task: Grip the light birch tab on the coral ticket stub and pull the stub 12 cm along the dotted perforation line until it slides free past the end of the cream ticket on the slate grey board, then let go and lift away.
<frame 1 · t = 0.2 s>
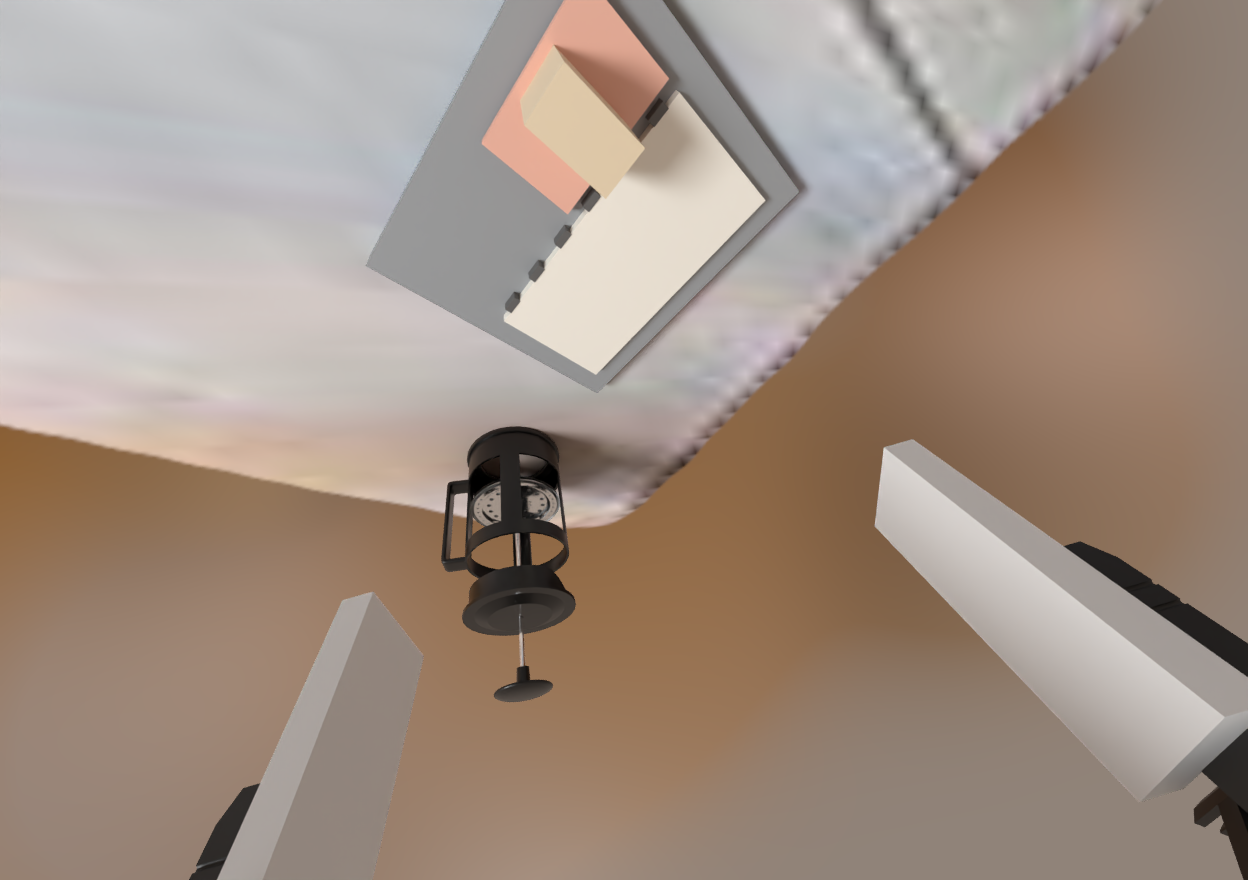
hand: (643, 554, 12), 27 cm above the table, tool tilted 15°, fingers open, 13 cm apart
stub: (579, 121, 23), point 5 cm above the table, slide at 0.0 cm
french press: (509, 456, 48), on the table
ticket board: (586, 218, 31), on the table
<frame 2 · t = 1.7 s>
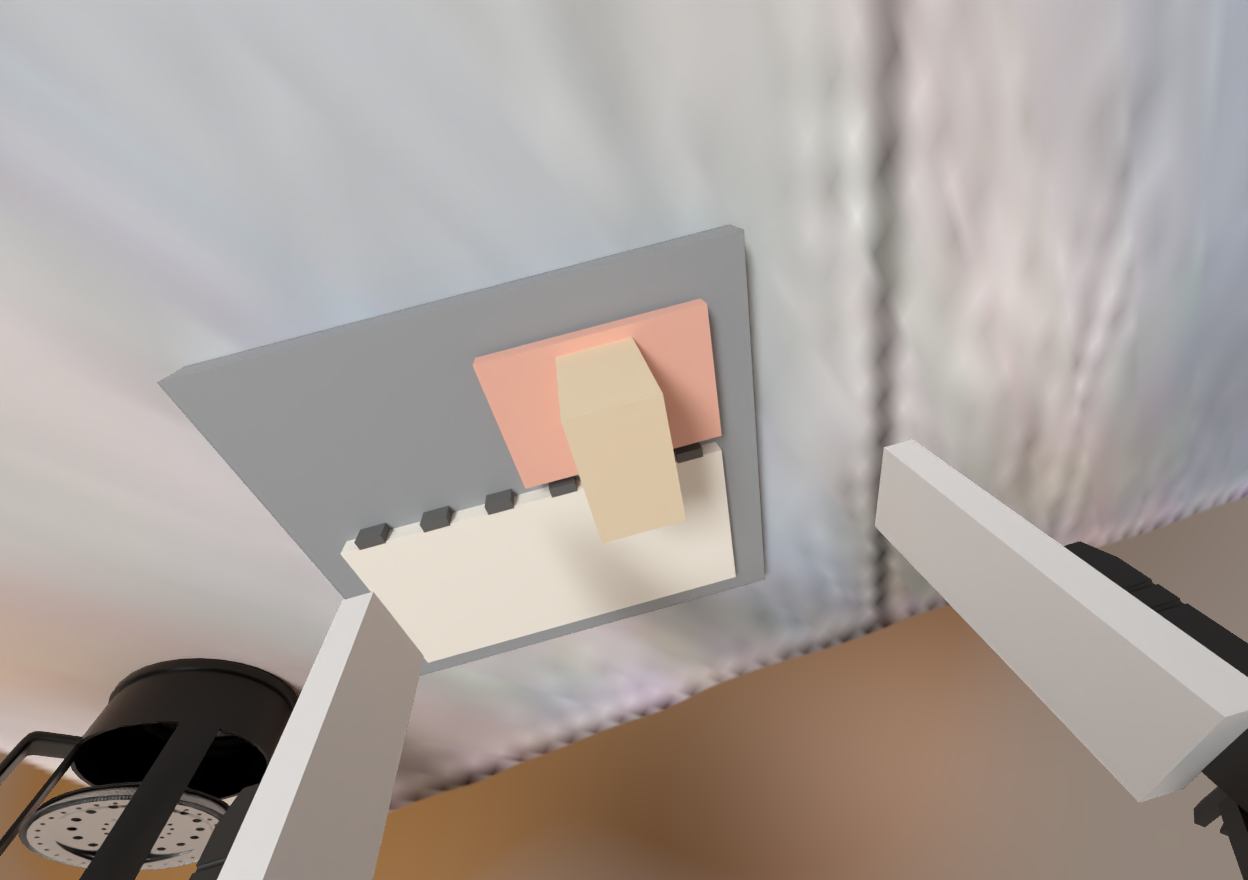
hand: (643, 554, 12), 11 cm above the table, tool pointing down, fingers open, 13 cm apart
stub: (616, 429, 17), point 5 cm above the table, slide at 0.0 cm
french press: (205, 700, 28), on the table
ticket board: (539, 487, 23), on the table
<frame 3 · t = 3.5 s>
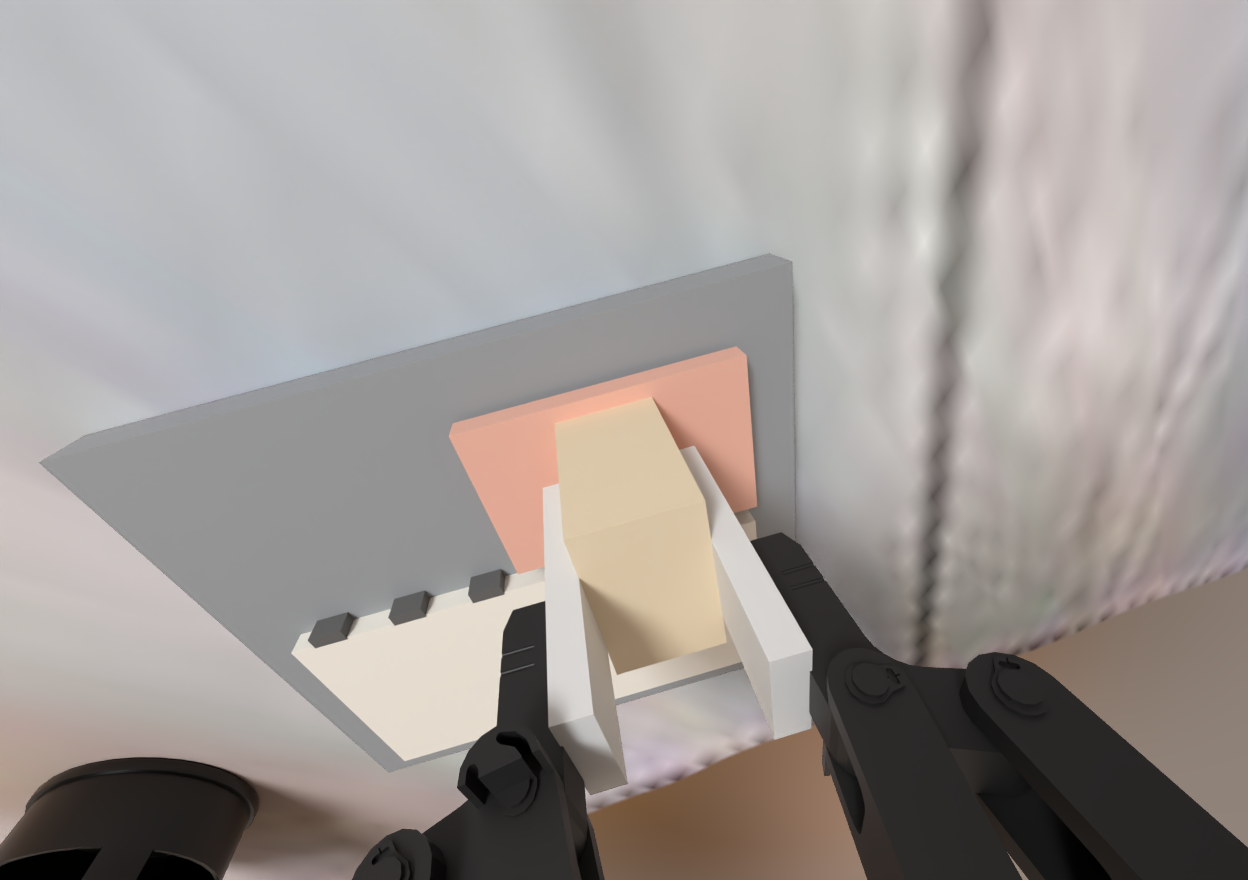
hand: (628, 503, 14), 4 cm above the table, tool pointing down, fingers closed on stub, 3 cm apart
stub: (632, 517, 13), point 5 cm above the table, slide at 0.0 cm, touching gripper
french press: (145, 799, 24), on the table
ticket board: (535, 559, 19), on the table
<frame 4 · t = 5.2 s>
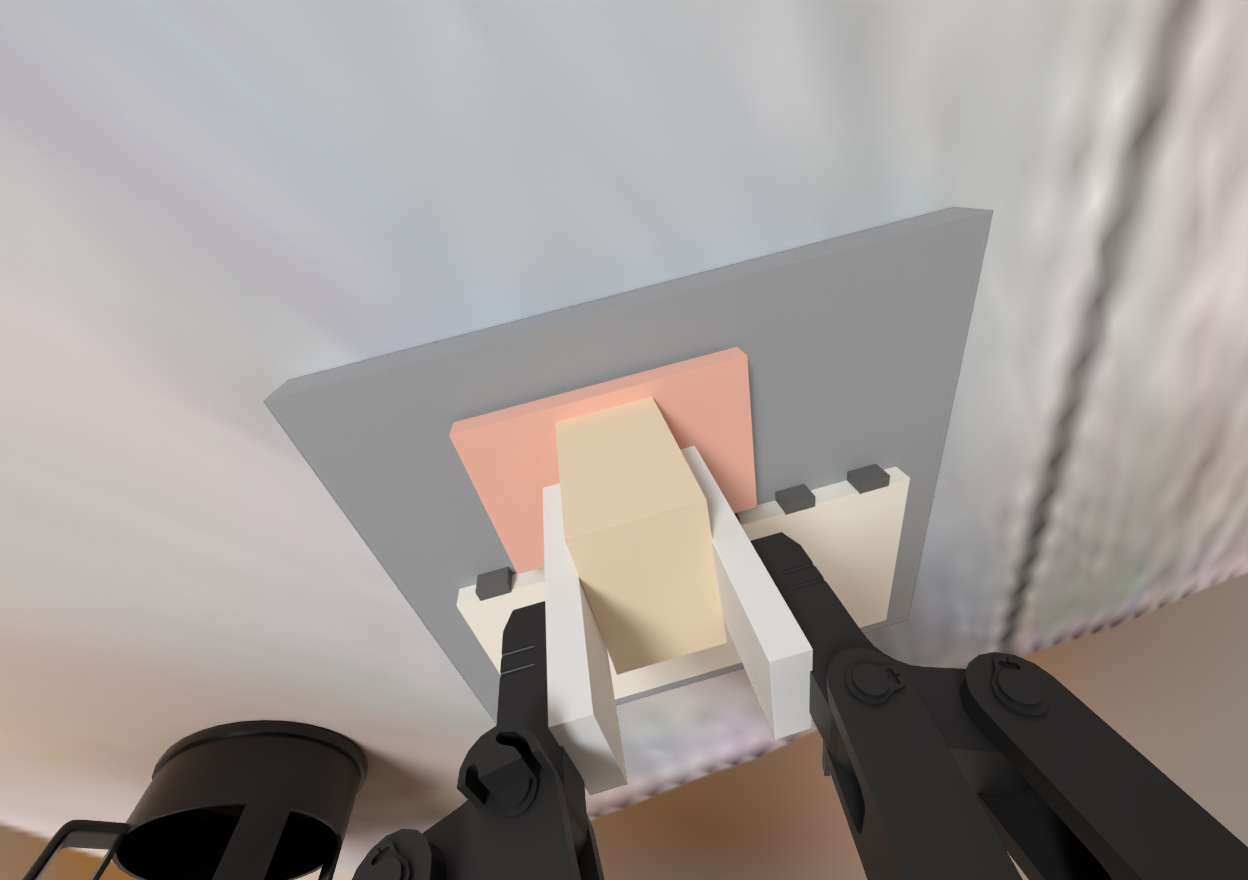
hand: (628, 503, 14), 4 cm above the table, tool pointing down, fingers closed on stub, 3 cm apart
stub: (633, 517, 13), point 5 cm above the table, slide at 6.3 cm, touching gripper
french press: (260, 764, 24), on the table
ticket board: (675, 520, 20), on the table
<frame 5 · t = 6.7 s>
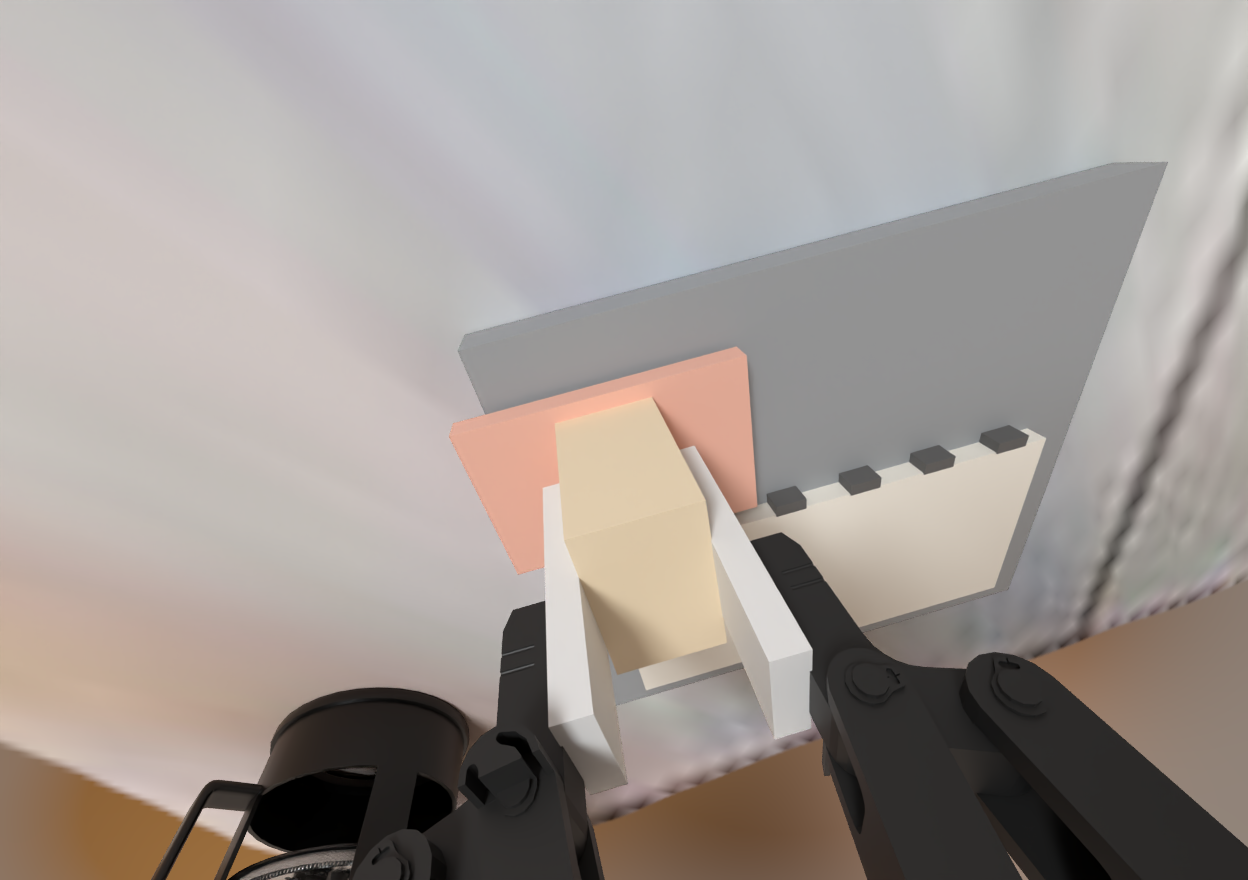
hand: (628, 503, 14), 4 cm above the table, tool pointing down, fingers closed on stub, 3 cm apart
stub: (633, 517, 13), point 5 cm above the table, slide at 11.9 cm, touching gripper
french press: (368, 734, 24), on the table
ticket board: (798, 485, 20), on the table
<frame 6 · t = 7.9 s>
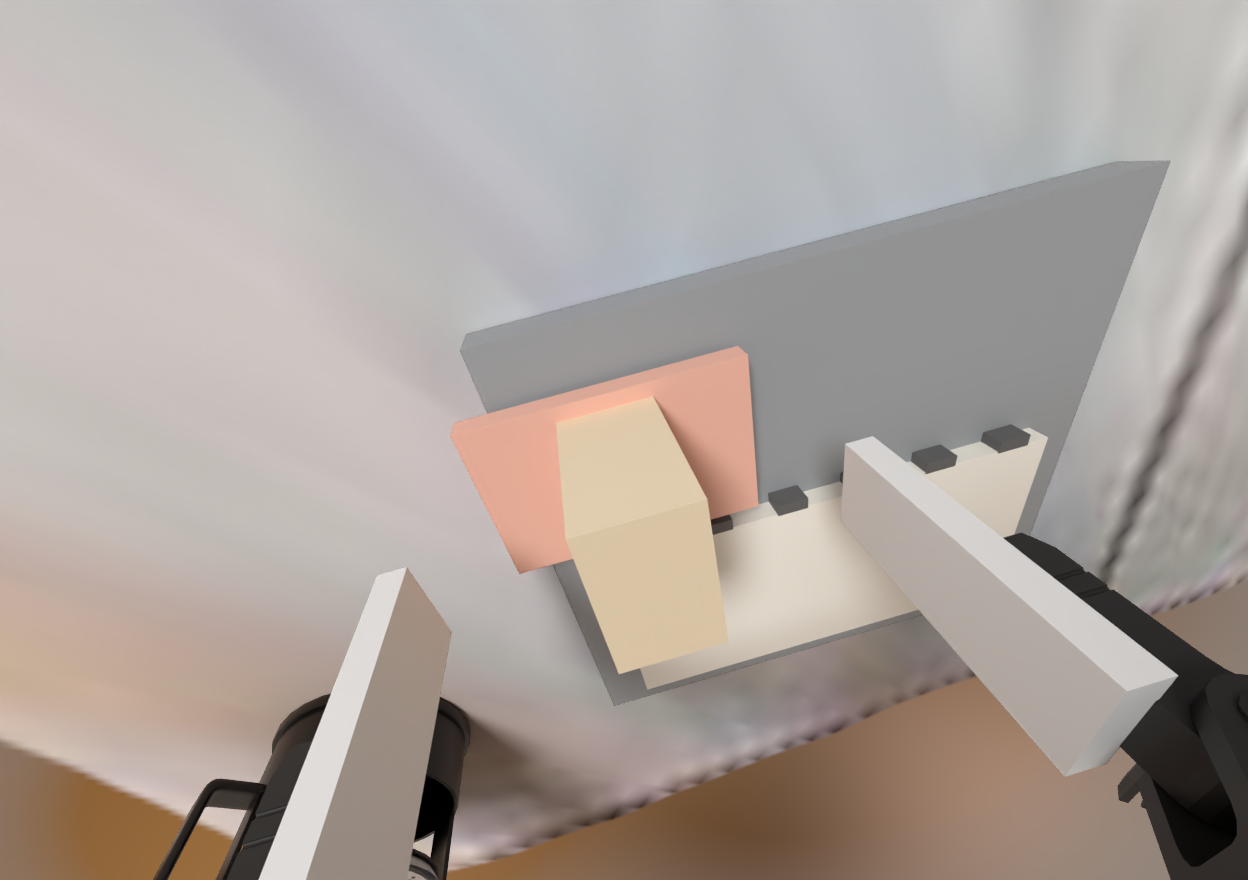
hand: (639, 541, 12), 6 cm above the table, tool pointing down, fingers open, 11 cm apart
stub: (634, 516, 13), point 5 cm above the table, slide at 11.9 cm
french press: (370, 733, 24), on the table
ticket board: (800, 484, 20), on the table
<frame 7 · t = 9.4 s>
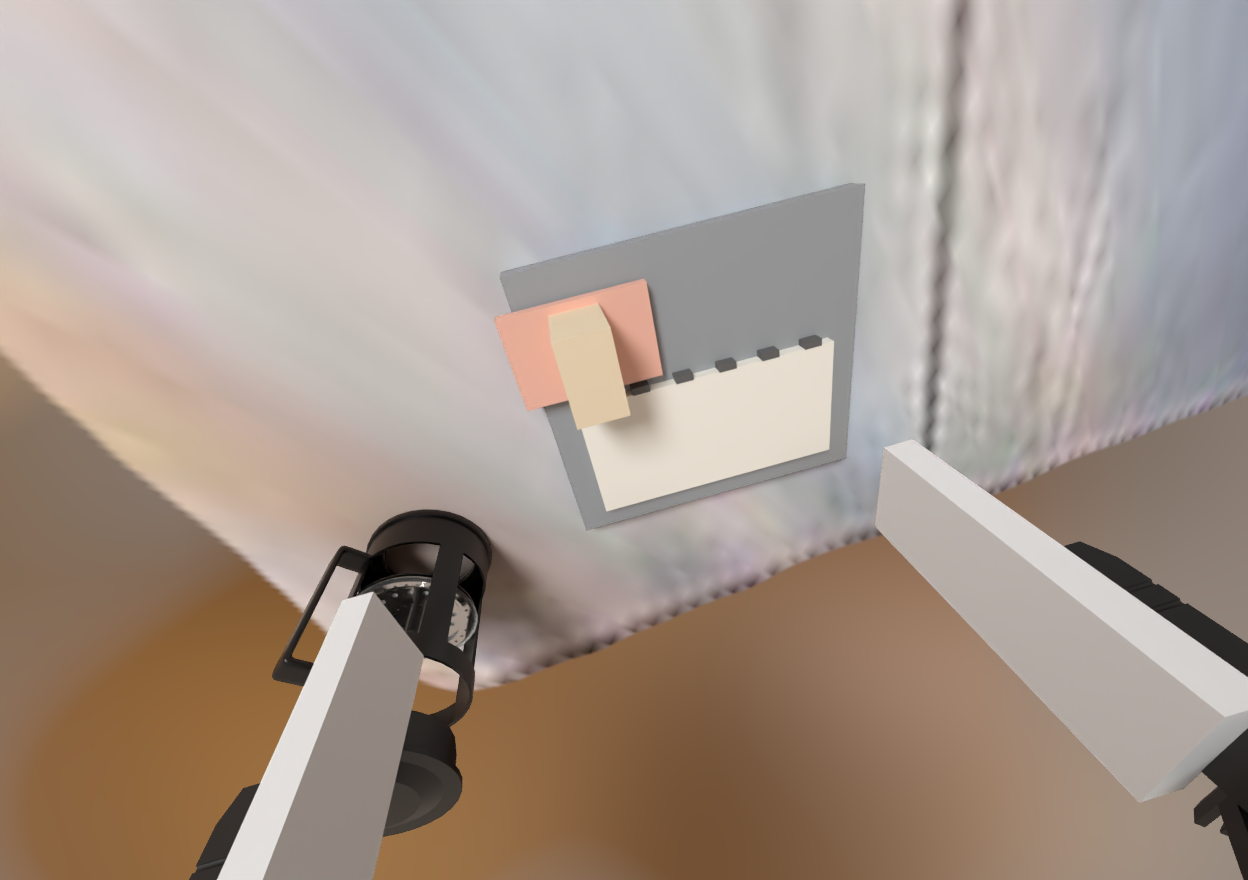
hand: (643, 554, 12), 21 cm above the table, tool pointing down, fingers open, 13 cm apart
stub: (587, 361, 26), point 5 cm above the table, slide at 11.9 cm
french press: (426, 550, 37), on the table
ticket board: (697, 375, 33), on the table
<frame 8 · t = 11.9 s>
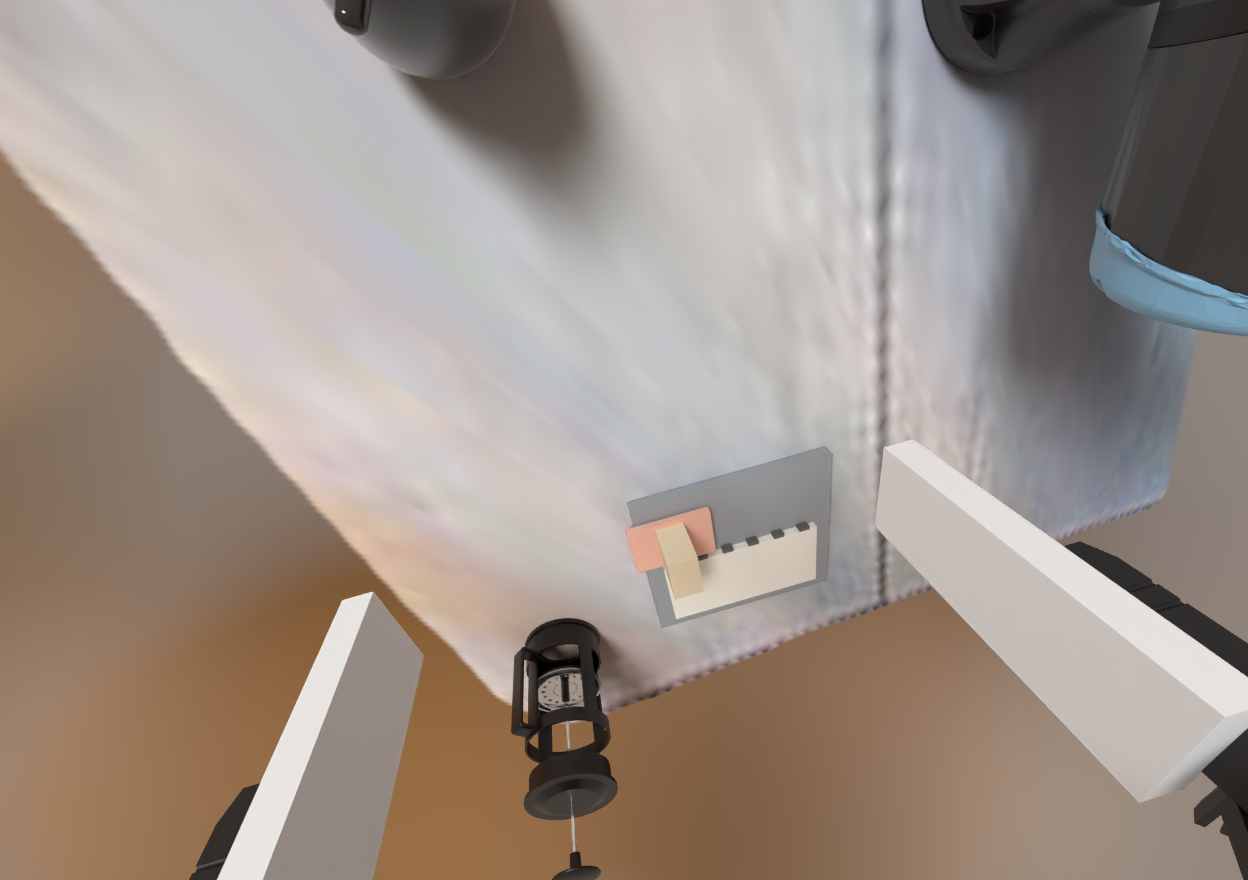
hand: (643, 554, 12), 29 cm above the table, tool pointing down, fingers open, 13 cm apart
stub: (678, 557, 46), point 5 cm above the table, slide at 11.9 cm
french press: (559, 640, 58), on the table
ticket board: (734, 540, 53), on the table
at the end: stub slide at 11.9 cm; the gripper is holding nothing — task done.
